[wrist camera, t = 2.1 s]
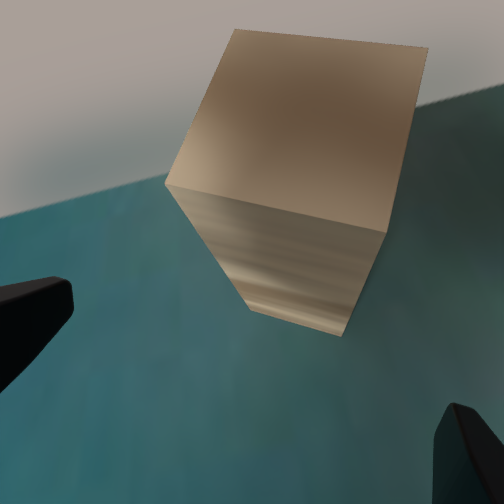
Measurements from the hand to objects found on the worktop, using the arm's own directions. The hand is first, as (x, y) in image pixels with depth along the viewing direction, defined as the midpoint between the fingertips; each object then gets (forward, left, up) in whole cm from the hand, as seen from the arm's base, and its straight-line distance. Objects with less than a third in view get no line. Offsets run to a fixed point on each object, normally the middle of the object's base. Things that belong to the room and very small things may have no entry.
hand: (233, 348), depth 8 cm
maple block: (+4, -3, -12) cm, 13 cm away
